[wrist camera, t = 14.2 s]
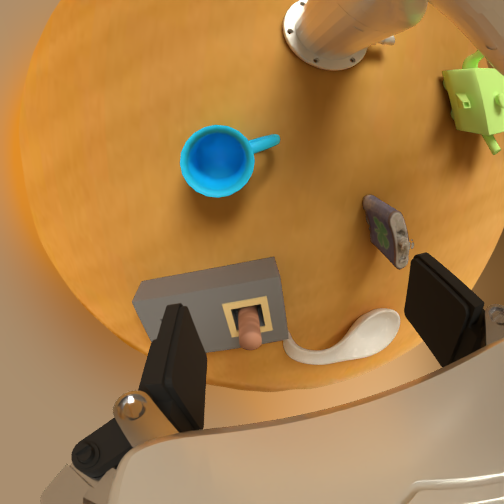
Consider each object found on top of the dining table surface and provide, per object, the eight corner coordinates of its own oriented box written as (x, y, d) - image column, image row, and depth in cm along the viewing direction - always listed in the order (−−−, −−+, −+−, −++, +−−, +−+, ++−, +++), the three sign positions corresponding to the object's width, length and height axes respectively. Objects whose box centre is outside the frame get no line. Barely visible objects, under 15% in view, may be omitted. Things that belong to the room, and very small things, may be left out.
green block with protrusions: (443, 44, 29) (485, 37, 18) (487, 91, 32) (528, 94, 22) (423, 107, 34) (470, 109, 24) (470, 150, 37) (512, 163, 27)
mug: (202, 191, 39) (195, 207, 31) (182, 138, 35) (169, 141, 28) (283, 164, 38) (296, 173, 30) (266, 109, 34) (274, 104, 27)
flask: (360, 196, 40) (395, 219, 31) (375, 190, 40) (413, 212, 30) (371, 247, 44) (402, 279, 35) (385, 240, 44) (418, 271, 34)
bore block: (274, 256, 44) (280, 277, 38) (283, 316, 49) (289, 340, 43) (142, 281, 44) (131, 303, 38) (165, 335, 49) (159, 358, 43)
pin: (254, 290, 44) (259, 332, 35) (257, 305, 45) (263, 347, 36) (235, 294, 44) (237, 335, 35) (239, 309, 46) (241, 351, 36)
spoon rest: (398, 294, 49) (415, 316, 43) (387, 338, 55) (400, 360, 48) (281, 314, 49) (288, 341, 42) (283, 358, 54) (288, 385, 47)
